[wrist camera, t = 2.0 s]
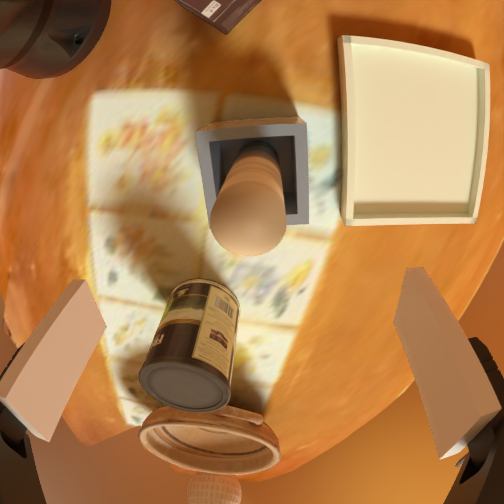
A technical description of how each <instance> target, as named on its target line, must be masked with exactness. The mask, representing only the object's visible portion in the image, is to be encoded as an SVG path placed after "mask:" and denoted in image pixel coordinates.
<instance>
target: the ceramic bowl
mask: <svg viewBox="0 0 504 504" xmlns="http://www.w3.org/2000/svg"><path fill="white" fill-rule="evenodd" d="M138 437H139V440H140V442H141V443H142V444H143V446H144V447H145V448H146V449H148V450H149V451H150V452H152V453H153V454H154V455H156V456H158V457H160V458H162V459H164V460H166V461H168V462H170V463H173V464H175V465H178V466H179V467H181V468H183V469H186V470H196V471H200V472H206V473H214V474H226V475H240V474H250V473H256V472H260V471H264V470H267V469H269V468H271V467H273V466H275V465H276V464H277V463H278V462H279V461H280V458H281V454H280V446H279V442H278V439H277V437H276V435H275V433H274V432H273V431H272V429H271V428H270V427H269V426H268V425H267V424H266V423H264V422H263V416H262V415H261V414H258V413H254V412H251V411H247V410H243V409H240V408H236V407H233V406H231V405H228V404H226V405H225V406H224V407H223V408H221V409H218V410H215V411H211V412H201V413H200V412H188V411H183V410H179V409H175V408H172V407H169V406H167V405H165V406H162V407H160V408H158V409H157V410H155V411H153V412H152V413H151V414H150V415H149V416H148V417H147V418H146V419H145V421H144V422H143V424H142V428H141V429H140V431H139V434H138Z"/></svg>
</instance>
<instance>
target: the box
mask: <svg viewBox="0 0 504 504" xmlns="http://www.w3.org/2000/svg"><path fill="white" fill-rule="evenodd" d="M175 1H176V2H177V3H178V4H179V5H181V6H182V7H183V8H184V9H186V10H188V11H189V12H191V13H192V14H194V15H196V16H197V17H199V18H200V19H202V20H204V21H205V22H207V23H208V24H210V25H211V26H213V27H215V28H216V29H218V30H219V31H221V32H222V33H223V34H226V35H227V34H228V33H229V32H230V31H231V30H232V29H233V28H234V27H235V26H236V25H237V24H238V23H239V22H240V21H241V20H242V19H243V18H244V17H245V16H246V15H247V14H248V13H249V12H250V11H251V10H252V9H253V8H254V7H255V6H256V5H257V4H258V3H259V2H260V1H261V0H175Z"/></svg>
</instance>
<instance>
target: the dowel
mask: <svg viewBox="0 0 504 504" xmlns="http://www.w3.org/2000/svg"><path fill="white" fill-rule="evenodd" d="M286 224H287V221H286V212H285V204H284V195H283V187H282V179H281V172H280V164H279V157H278V154H277V152H276V150H275V149H274V148H273V147H272V146H271V145H269V144H267V143H265V142H261V141H254V142H250V143H247V144H246V145H244V146H243V147H242V148H241V149H240V150H239V152H238V154H237V156H236V158H235V160H234V162H233V165H232V167H231V169H230V171H229V173H228V175H227V177H226V179H225V182H224V184H223V186H222V188H221V190H220V192H219V195H218V197H217V199H216V201H215V203H214V205H213V208H212V210H211V214H210V227H211V231H212V233H213V236H214V237H215V239H216V240H217V242H218V243H219V244H220V245H221V246H222V247H223V248H225V249H226V250H228V251H230V252H232V253H234V254H237V255H241V256H258V255H262V254H265V253H267V252H269V251H270V250H272V249H273V248H275V247H276V246H277V245H278V244H279V243H280V241H281V240H282V238H283V236H284V234H285V231H286Z"/></svg>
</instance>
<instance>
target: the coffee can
mask: <svg viewBox="0 0 504 504" xmlns="http://www.w3.org/2000/svg"><path fill="white" fill-rule="evenodd" d="M239 317H240V305H239V302H238V300H237V298H236V297H235V296H234V294H233V293H232V292H231V291H230V290H228V289H227V288H226V287H224V286H223V285H221V284H219V283H216V282H214V281H209V280H204V279H193V280H188V281H185V282H183V283H181V284H179V285H178V286H177V287H176V288H175V289H174V290H173V291H172V293H171V295H170V298H169V301H168V304H167V307H166V309H165V312H164V314H163V316H162V319H161V321H160V324H159V326H158V329H157V331H156V334H155V336H154V339H153V342H152V344H151V347H150V350H149V352H148V354H147V357H146V360H145V362H144V365H143V366H142V368H141V370H140V372H139V381H140V383H141V386H142V387H143V388H144V390H145V391H146V392H147V393H148V394H149V395H150V396H152V397H153V398H154V399H156V400H157V401H159V402H161V403H163V404H165V405H167V406H169V407H172V408H175V409H179V410H183V411H188V412H200V413H201V412H211V411H215V410H218V409H221V408H223V407H224V406H225V405H226V404H227V403H228V402H229V400H230V398H231V388H230V386H231V378H232V370H233V362H234V354H235V347H236V338H237V329H238V322H239Z"/></svg>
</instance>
